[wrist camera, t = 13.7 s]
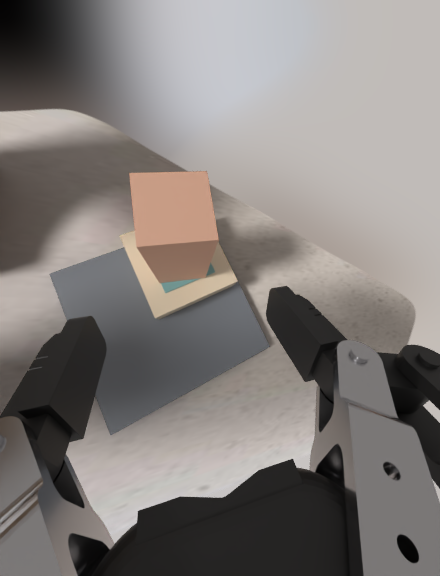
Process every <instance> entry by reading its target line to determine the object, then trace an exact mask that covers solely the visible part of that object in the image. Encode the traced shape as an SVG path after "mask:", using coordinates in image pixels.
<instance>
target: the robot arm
mask: <svg viewBox="0 0 440 576" xmlns="http://www.w3.org/2000/svg"><path fill="white" fill-rule="evenodd" d="M266 317H267V321H268V323H269V325H270V327H271V328H272V330H273V331H274V333H275V335H276V336H277V338H278V339H279V341H280V343H281V344H282V346H283V348H284V349H285V351H286V352H287V354H288V356H289V357H290V359H291V360H292V362H293V364H294V365H295V367H296V368H297V370H298V372H299V373H300V375H301V376H302V378H303V380H304V381H305V382H307V381H311V380H315V381H316V382H317V384H318V386H317V392H316V418H315V437H314V442H313V445H312V450H311V457H310V470H306V469H302V468H296V466H295V463H294V461H293V459H291V460H288V461H285V462H282V463H279V464H276V465H273V466H270V467H267V468H264V469H261V470H259V471H257V472H256V473H255V474H254V475H252V476H251V477H250V478H249V479H247V480H246V481H245V482H243V483H242V484H241V485H240V486H238V487H237V488H236V489H235V490H234V491H232V492H231V493H230V494H228V495H227V496H226V497H223V498H206V497H178V498H175V499H172V500H169V501H166V502H163V503H161V504H158V505H155V506H152V507H149V508H146V509H143V510H140V511H138V520H137V523H136V524H135V525H134V526H132V527H131V528H130V529H129V530H128V531H127V532H126V533H125V534H124V535H123V536H122V537H121V538H120V539H119V540H118V541H117V542H116V543H115V544H114V542H113V540H112V538H111V536H110V534H109V532H108V530H107V528H106V526H105V525H104V523H103V522H102V520H101V519H100V517H99V516H98V515H97V514H96V513H95V511H94V510H93V509H92V507H91V505H90V503H89V501H88V499H87V497H86V495H85V493H84V490H83V488H82V486H81V484H80V482H79V480H78V478H77V476H76V474H75V471H74V469H73V467H72V465H71V463H70V461H69V459H68V457H67V455H66V451H67V448H68V445H69V442H72V441H76V440H80V439H83V438H84V434H85V430H86V427H87V423H88V419H89V416H90V412H91V408H92V405H93V401H94V397H95V394H96V390H97V386H98V382H99V379H100V375H101V371H102V368H103V364H104V360H105V357H106V351H107V347H106V342H105V339H104V337H103V335H102V333H101V331H100V329H99V327H98V325H97V323H96V321H95V319H94V318H93V317H92V316H85V317H79V318H72V319H69V320H68V321H67V322H66V324H65V326H64V328H63V330H62V331H61V333H59V334H55V335H54V336H53V337H52V338H51V339H50V340H49V341H47V342H46V343H45V344H44V345H43V347H42V348H41V350H40V352H39V353H38V355H37V357H36V360H34V361H33V363H32V365H31V366H30V368H29V369H30V370H29V371H27V373H26V375H25V376H24V378H23V380H22V381H21V383H20V385H19V386H18V388H17V389H16V391H15V393H14V394H13V396H12V398H11V399H10V401H9V403H8V404H7V406H6V408H5V409H4V411H3V413H2V414H1V416H0V576H440V503H439V499H438V496H437V493H436V490H435V487H434V484H433V481H432V479H433V480H434V482H435V483H436V484H437V486H438V487H439V488H440V423H439V422H438V421H437V420H436V419H435V418H434V417H433V416H432V415H431V414H430V413H429V412H428V411H427V410H426V409H425V408H424V407H423V405H424V404H425V403H426V402H427V401H429V400H430V401H431V402H432V403H433V404H434V405H435V406H436V407H437V408H438V409H439V410H440V354H438V353H436V352H434V351H432V350H430V349H428V348H425V347H422V346H418V345H407V346H405V347H404V348H403V349H402V350H401V351H400V353H399V354H390V353H377V352H375V351H374V350H373V349H372V348H370V347H369V346H367V345H365V344H363V343H361V342H358V341H354V340H347V339H346V338H345V337H344V336H343V335H342V334H341V333H340V332H339V331H338V330H337V329H336V328H335V327H334V326H333V325H332V324H331V323H330V322H329V321H328V320H327V319H326V318H325V317H324V316H323V315H321V313H320V312H319V311H318V310H317V309H315V307H314V306H313V305H312V304H311V303H310V302H309V301H308V300H307V299H305V298H303V297H302V296H300V295H295V294H294V293H293V291H292V290H291V289H290V288H289V287H287V286H283V287H277V288H272V289H271V290H270V292H269V298H268V304H267V310H266Z"/></svg>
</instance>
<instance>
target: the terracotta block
mask: <svg viewBox="0 0 440 576" xmlns="http://www.w3.org/2000/svg"><path fill="white" fill-rule="evenodd" d="M129 176H130V187H131V197H132V207H133V218H134V228H135V238H136V247H137V249H138V250H139V252H140V254H141V255H142V257H143V258H144V260H145V261H146V263H147V265H148V266H149V268H150V269H151V271H152V272H153V274H154V275H155V277H156V279H157V280H158V282H159V283H166V282H175V281H183V280H191V279H199V278H205V277H206V274H207V272H208V269H209V266H210V263H211V260H212V257H213V255H214V252H215V249H216V246H217V243H218V241H219V238H218V232H217V227H216V221H215V215H214V209H213V203H212V197H211V192H210V186H209V180H208V175H207V171H196V172H149V173H129Z"/></svg>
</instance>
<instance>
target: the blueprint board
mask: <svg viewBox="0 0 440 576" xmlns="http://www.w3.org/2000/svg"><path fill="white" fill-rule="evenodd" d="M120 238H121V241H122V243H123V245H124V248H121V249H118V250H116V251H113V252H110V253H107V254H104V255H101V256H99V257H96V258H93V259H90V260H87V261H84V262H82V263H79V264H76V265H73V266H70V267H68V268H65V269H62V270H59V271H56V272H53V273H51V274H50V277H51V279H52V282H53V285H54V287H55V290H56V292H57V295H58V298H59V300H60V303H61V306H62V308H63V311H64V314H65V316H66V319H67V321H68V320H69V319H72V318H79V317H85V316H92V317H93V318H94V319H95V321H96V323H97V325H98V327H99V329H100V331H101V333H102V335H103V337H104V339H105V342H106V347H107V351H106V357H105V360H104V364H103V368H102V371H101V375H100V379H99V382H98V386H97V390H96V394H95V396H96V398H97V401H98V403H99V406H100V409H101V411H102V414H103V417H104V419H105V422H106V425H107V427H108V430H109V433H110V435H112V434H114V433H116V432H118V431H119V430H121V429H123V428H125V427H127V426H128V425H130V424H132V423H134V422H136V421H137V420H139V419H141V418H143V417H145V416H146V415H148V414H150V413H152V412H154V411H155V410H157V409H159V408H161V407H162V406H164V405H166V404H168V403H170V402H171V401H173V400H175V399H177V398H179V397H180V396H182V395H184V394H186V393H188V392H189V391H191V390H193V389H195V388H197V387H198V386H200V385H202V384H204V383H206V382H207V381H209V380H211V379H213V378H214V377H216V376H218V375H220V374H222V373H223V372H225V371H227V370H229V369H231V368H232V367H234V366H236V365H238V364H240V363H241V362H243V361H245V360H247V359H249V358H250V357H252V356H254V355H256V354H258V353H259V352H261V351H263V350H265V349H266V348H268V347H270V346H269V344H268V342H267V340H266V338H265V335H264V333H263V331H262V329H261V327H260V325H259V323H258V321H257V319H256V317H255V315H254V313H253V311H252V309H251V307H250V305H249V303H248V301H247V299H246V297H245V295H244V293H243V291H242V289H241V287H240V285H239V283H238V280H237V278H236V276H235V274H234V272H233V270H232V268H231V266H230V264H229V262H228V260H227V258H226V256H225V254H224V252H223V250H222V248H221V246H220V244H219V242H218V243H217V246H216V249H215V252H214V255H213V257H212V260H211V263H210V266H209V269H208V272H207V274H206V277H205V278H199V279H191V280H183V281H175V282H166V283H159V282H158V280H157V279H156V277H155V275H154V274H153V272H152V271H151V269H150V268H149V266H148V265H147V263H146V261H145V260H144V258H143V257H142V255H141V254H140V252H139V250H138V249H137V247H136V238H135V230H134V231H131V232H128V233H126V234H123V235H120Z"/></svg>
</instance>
